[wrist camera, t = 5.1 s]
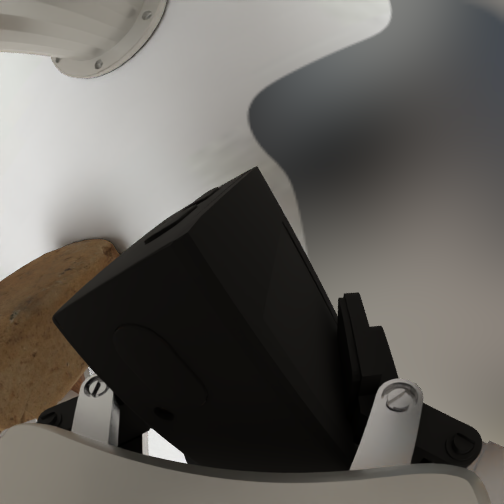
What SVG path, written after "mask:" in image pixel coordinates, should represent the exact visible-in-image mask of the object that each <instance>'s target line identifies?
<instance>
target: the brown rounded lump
mask: <svg viewBox="0 0 504 504" xmlns="http://www.w3.org/2000/svg"><path fill="white" fill-rule="evenodd" d="M118 256H120V254H119V253H118V252H117V250H116V249H115V247H114V245H113V244H112V243H111V242H109V241H107V240H103V239H91V240H83V241H80V242H75V243H72V244H70V245H67V246H64V247H62V248H60V249H57V250H54V251H51V252H49V253H46V254H44V255H42V256H40V257H39V258H37V259H35V260H33V261H31V262H30V263H28V264H26V265H25V266H23V267H21V268H20V269H18V270H17V271H15V272H14V273H12V274H11V275H9V276H8V277H6V278H5V279H3V280H2V281H0V433H1V432H2V431H3V430H5V429H7V428H10V427H12V426H14V425H17V424H22V423H24V422H27V421H30V420H33V419H35V418H36V419H37V420H38V417H39V416H40V414H41V413H42V412H43V411H44V410H46V409H48V408H50V407H53V406H55V405H57V403H58V402H59V401H61V400H62V399H63V398H64V396H65V395H66V394H67V393H68V392H69V391H70V390H71V388H72V387H73V385H74V384H75V383H76V382H77V381H78V379H79V378H80V377H81V376H82V374H83V373H84V372H85V370H86V369H87V368H88V367H89V366H88V365H87V363H86V362H85V361H84V360H83V359H82V358H81V357H80V355H79V354H78V353H77V352H76V351H75V349H74V348H73V347H72V346H71V345H70V343H69V342H68V341H67V340H66V338H65V337H64V336H63V334H62V333H61V332H60V331H59V329H58V328H57V327H56V325H55V324H54V323H53V320H52V317H53V315H54V314H55V313H56V312H57V311H58V310H59V309H60V308H61V307H62V306H63V305H64V304H65V303H66V302H67V301H68V300H69V299H70V298H71V297H72V296H73V295H74V294H75V293H76V292H78V291H79V290H80V289H81V288H82V287H83V286H84V285H86V284H87V283H88V282H89V281H90V280H91V279H92V278H94V277H95V276H96V275H97V274H98V273H99V272H101V271H102V270H103V269H104V268H105V267H106V266H108V265H109V264H110V263H111V262H112V261H114V260H115V259H116V258H117V257H118Z"/></svg>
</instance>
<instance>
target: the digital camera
mask: <svg viewBox="0 0 504 504" xmlns="http://www.w3.org/2000/svg"><path fill="white" fill-rule="evenodd" d="M52 320H53V323H54V324H55V325H56V327H57V328H58V329H59V331H60V332H61V333H62V334H63V336H64V337H65V338H66V340H67V341H68V342H69V343H70V345H71V346H72V347H73V348H74V349H75V351H76V352H77V353H78V354H79V355H80V357H81V358H82V359H83V360H84V361H85V362H86V363H87V365H88V366H89V367H90V368H91V369H92V370H93V371H94V372H95V373H96V375H97V376H98V377H99V378H100V379H101V380H102V381H103V382H104V383H105V384H106V385H107V386H108V387H109V388H110V389H111V390H112V391H113V392H114V393H115V394H116V395H117V396H118V397H119V398H120V399H121V400H122V401H123V402H124V403H125V404H126V405H127V406H128V407H129V408H130V409H131V410H132V411H133V412H134V413H136V414H137V415H138V416H139V417H140V418H141V419H142V420H143V421H144V422H146V423H147V424H148V425H149V426H150V427H151V428H152V429H154V430H155V431H156V432H157V433H158V434H160V435H161V436H162V437H163V438H164V439H166V440H167V441H168V442H169V443H171V444H172V445H173V446H174V447H176V448H177V449H178V450H180V451H181V452H182V453H184V456H185V459H186V461H187V463H188V464H192V465H198V466H204V467H212V468H220V469H228V470H239V471H251V472H270V473H315V472H336V471H349V470H350V468H351V465H352V463H353V460H354V458H355V455H356V453H357V450H358V447H359V445H357V444H356V443H354V442H353V435H352V429H351V424H350V423H349V421H348V420H347V418H346V409H345V398H344V387H343V378H342V369H341V360H340V352H339V344H338V337H337V325H338V316H337V314H336V312H335V310H334V308H333V306H332V304H331V302H330V300H329V298H328V296H327V294H326V292H325V290H324V288H323V286H322V284H321V282H320V280H319V278H318V276H317V275H316V273H315V271H314V269H313V267H312V265H311V263H310V261H309V259H308V257H307V255H306V254H305V252H304V250H303V248H302V246H301V244H300V242H299V240H298V239H297V237H296V235H295V233H294V231H293V229H292V227H291V226H290V224H289V222H288V220H287V218H286V217H285V215H284V213H283V211H282V209H281V207H280V206H279V204H278V202H277V200H276V199H275V197H274V195H273V193H272V191H271V190H270V188H269V186H268V184H267V183H266V181H265V179H264V177H263V176H262V174H261V172H260V170H259V169H258V167H257V166H256V167H254V168H252V169H251V170H248V171H247V172H245V173H243V174H241V175H239V176H238V177H236V178H234V179H232V180H231V181H229V182H227V183H225V184H224V185H222V186H220V187H217V188H214V189H212V190H210V191H208V192H207V193H205V194H204V195H202V196H201V197H199V198H198V199H197V200H195V201H194V202H193V203H191V204H190V205H188V206H186V207H185V208H183V209H181V210H180V211H178V212H177V213H175V214H173V215H172V216H170V217H169V218H167V219H166V220H164V221H163V222H162V223H160V224H159V225H158V226H156V227H155V228H154V229H152V230H151V231H150V232H148V233H147V234H146V235H145V236H143V237H142V238H141V239H139V240H138V241H137V242H136V243H134V244H133V245H132V246H131V247H129V248H128V249H127V250H126V251H124V252H123V253H122V254H121V255H120V256H118V257H117V258H116V259H115V260H114V261H112V262H111V263H110V264H109V265H108V266H106V267H105V268H104V269H103V270H102V271H101V272H99V273H98V274H97V275H96V276H95V277H94V278H92V279H91V280H90V281H89V282H88V283H87V284H86V285H84V286H83V287H82V288H81V289H80V290H79V291H78V292H76V293H75V294H74V295H73V296H72V297H71V298H70V299H69V300H68V301H67V302H66V303H65V304H64V305H63V306H62V307H61V308H60V309H59V310H58V311H57V312H56V313H55V314H54V315H53V317H52Z"/></svg>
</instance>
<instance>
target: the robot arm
mask: <svg viewBox="0 0 504 504" xmlns="http://www.w3.org/2000/svg"><path fill="white" fill-rule="evenodd" d="M166 2H167V0H0V52H8V53H22V54H33V55H42V56H50V57H51V59H52V61H53V63H54V65H55V67H56V68H57V69H58V70H59V71H60V72H61V73H63V74H65V75H67V76H69V77H74V78H86V79H88V78H93V77H98V76H101V75H103V74H106V73H109V72H110V71H112V70H114V69H115V68H117V67H119V66H120V65H122V64H123V63H124V62H126V61H127V60H128V59H129V58H131V57H132V56H133V55H134V54H135V53H136V52H137V51H138V50H139V49H140V48H141V47H142V46H143V44H144V43H145V42H146V41H147V39H148V38H149V37H150V36H151V34H152V33H153V31H154V29H155V28H156V26H157V25H158V23H159V21H160V19H161V16H162V14H163V12H164V9H165V6H166ZM337 337H338V344H339V352H340V360H341V369H342V378H343V387H344V398H345V409H346V418H347V420H348V421H349V423H350V424H351V429H352V435H353V442H354V443H356V444H357V445H359V447H358V450H357V453H356V455H355V458H354V460H353V463H352V465H351V468H350V470H349V471H336V472H315V473H270V472H251V471H239V470H228V469H220V468H212V467H204V466H198V465H192V464H186V463H180V462H175V461H170V460H165V459H161V458H156V457H152V456H149V454H148V432H147V431H149V429H150V428H151V427H150V426H149V425H148V424H147V423H146V422H144V421H143V420H142V419H141V418H140V417H139V416H138V415H137V414H136V413H134V412H133V411H132V410H131V409H130V408H129V407H128V406H127V405H126V404H125V403H124V402H123V401H122V400H121V399H120V398H119V397H118V396H117V395H116V394H115V393H114V392H113V391H112V390H111V389H110V388H109V387H108V386H107V385H106V384H105V383H104V382H103V381H102V380H101V379H100V378H99V377H98V376H97V375H96V373H95V374H93V375H91V376H89V377H88V378H87V379H85V381H84V382H83V383H82V385H81V388H80V392H79V396H77V397H74V398H72V399H70V400H67V401H65V402H62V403H60V404H58V405H55V406H53V407H50V408H48V409H46V410H44V411H43V412H42V413H41V414H40V416H39V417H38V420H37V419H36V418H35V419H33V420H30V421H27V422H24V423H22V424H17V425H14V426H12V427H10V428H7V429H5V430H3V431H2V432H1V433H0V504H504V447H503V446H500V445H498V444H496V443H493V442H491V441H489V442H488V443H485V442H483V441H482V439H481V436H480V434H479V433H478V432H477V430H475V429H474V428H473V427H471V426H469V425H467V424H465V423H463V422H461V421H458V420H456V419H454V418H452V417H450V416H448V415H446V414H444V413H442V412H440V411H438V410H436V409H434V408H432V407H430V406H428V405H427V404H425V403H423V393H422V391H421V388H420V387H418V385H417V384H415V383H414V382H412V381H410V380H407V379H399V378H398V375H397V371H396V368H395V365H394V361H393V358H392V355H391V352H390V349H389V345H388V342H387V339H386V336H385V333H384V330H383V328H382V326H374V327H369V324H368V320H367V317H366V313H365V310H364V307H363V303H362V300H361V297H360V294H359V293H346V294H344V298H339V299H338V325H337Z"/></svg>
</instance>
